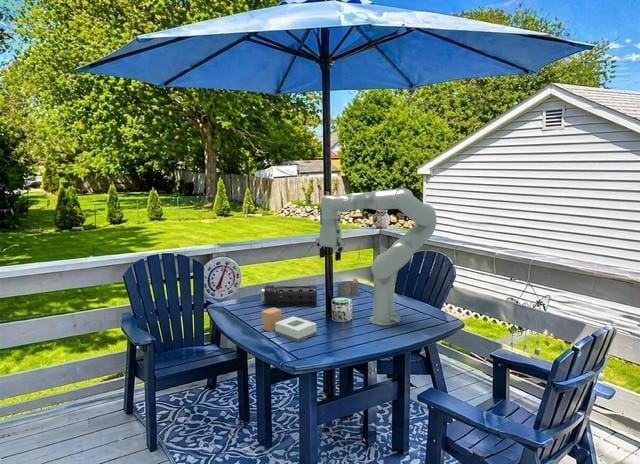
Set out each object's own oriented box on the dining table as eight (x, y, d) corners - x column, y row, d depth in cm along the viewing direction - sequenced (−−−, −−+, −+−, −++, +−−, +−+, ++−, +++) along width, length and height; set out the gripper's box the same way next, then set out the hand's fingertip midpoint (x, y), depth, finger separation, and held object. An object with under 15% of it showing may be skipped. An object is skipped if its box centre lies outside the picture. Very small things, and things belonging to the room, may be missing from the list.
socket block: (316, 334, 198) (316, 323, 197) (298, 342, 190) (298, 330, 189) (293, 326, 208) (293, 316, 207) (275, 333, 200) (275, 322, 199)
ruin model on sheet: (357, 294, 256) (357, 277, 255) (358, 296, 253) (358, 279, 252) (337, 295, 255) (337, 278, 253) (337, 297, 252) (337, 280, 250)
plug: (282, 327, 207) (281, 310, 205) (270, 332, 202) (269, 313, 200) (273, 324, 211) (273, 307, 209) (262, 329, 205) (261, 311, 204)
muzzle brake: (316, 308, 234) (316, 288, 232) (261, 308, 234) (260, 288, 232) (316, 302, 243) (316, 283, 241) (263, 302, 243) (263, 283, 242)
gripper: (349, 223, 209) (349, 260, 212) (321, 219, 221) (321, 255, 224) (338, 225, 204) (339, 263, 207) (310, 221, 216) (311, 257, 218)
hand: (330, 258), depth 215 cm, fingers open, 9 cm apart
